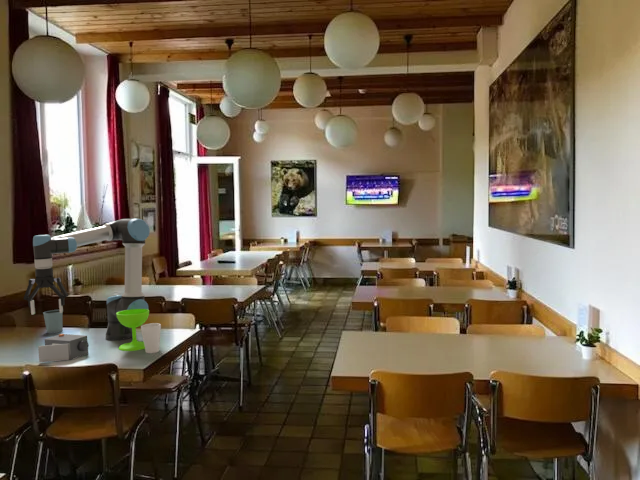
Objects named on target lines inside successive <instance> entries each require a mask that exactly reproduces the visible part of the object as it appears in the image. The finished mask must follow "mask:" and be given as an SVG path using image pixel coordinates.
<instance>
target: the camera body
mask: <svg viewBox="0 0 640 480" xmlns="http://www.w3.org/2000/svg"><path fill="white" fill-rule="evenodd" d="M43 340H44V346H45V345H57V344H68V343H70V351H71V359H70V361H72V360H75V359H77V358H80V357H83V356H86V355H88V354H89V342H88V335H83V334H68V333H59V334H58V335H53V336H52V337H51V336H50V337H48V338H44V339H43Z"/></svg>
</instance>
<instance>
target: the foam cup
mask: <svg viewBox="0 0 640 480" xmlns="http://www.w3.org/2000/svg"><path fill="white" fill-rule="evenodd" d="M161 330H162V324H161V323H160V322H159V323H158V322H152V323H151V322H150V323H144V324H142V325H141V326H140V332H141V335H142V336H141V337H142V339H143V340H142V341H144V346H145V349H144V350H145V353H146V354H156V353H159V351H160V344H161Z"/></svg>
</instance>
